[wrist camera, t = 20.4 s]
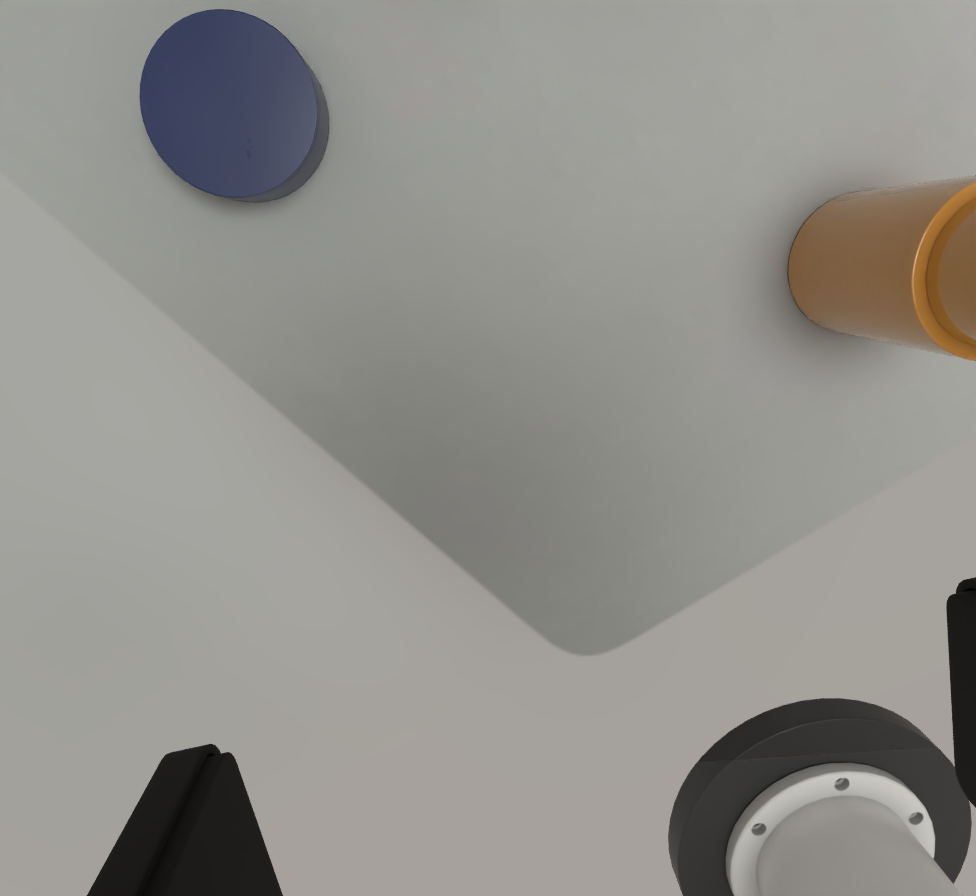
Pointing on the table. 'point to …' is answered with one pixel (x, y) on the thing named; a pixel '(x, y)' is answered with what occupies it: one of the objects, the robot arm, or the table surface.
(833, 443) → the table surface
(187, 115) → the lid
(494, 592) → the table surface
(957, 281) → the jar
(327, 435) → the table surface
